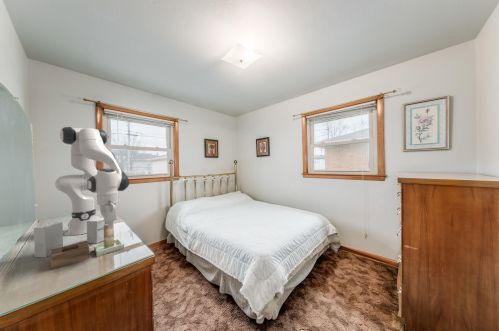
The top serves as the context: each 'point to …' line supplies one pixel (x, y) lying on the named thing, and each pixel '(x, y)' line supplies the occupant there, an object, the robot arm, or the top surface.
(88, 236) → the supplement box
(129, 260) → the top surface
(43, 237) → the skincare box
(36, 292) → the top surface
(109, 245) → the beech dowel
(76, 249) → the walnut hole block
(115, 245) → the sage tray
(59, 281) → the top surface
